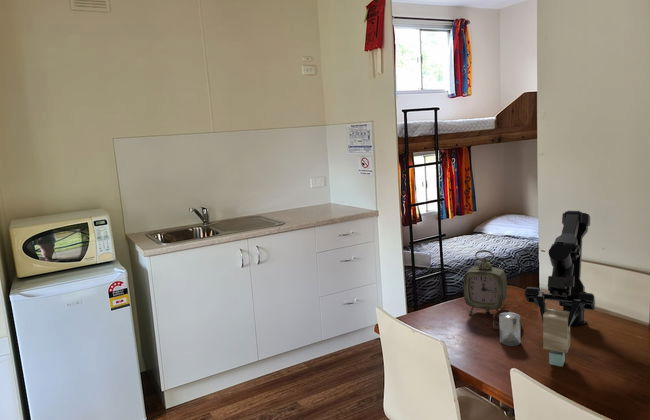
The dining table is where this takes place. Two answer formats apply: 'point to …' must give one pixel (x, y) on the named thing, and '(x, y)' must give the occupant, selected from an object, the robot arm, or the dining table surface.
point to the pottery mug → (502, 310)
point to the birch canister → (556, 330)
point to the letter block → (556, 358)
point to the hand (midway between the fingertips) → (555, 324)
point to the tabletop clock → (485, 286)
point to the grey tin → (509, 328)
